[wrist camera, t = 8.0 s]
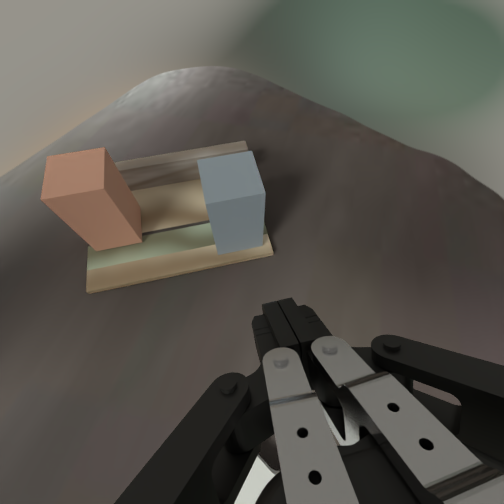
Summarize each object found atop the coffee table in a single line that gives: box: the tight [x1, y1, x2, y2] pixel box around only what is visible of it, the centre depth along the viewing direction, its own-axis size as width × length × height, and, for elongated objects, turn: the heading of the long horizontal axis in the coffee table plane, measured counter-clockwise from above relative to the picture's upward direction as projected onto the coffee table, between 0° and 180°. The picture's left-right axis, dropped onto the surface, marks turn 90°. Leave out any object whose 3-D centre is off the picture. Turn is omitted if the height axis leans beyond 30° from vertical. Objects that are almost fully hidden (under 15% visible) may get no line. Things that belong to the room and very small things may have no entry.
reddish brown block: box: [41, 147, 142, 251], centre depth 28 cm, size 5×5×9 cm
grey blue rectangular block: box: [197, 151, 266, 255], centre depth 28 cm, size 5×5×9 cm
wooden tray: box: [86, 141, 273, 294], centre depth 31 cm, size 14×20×4 cm
